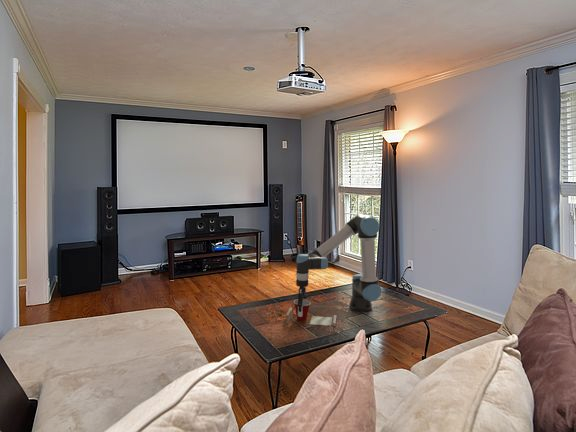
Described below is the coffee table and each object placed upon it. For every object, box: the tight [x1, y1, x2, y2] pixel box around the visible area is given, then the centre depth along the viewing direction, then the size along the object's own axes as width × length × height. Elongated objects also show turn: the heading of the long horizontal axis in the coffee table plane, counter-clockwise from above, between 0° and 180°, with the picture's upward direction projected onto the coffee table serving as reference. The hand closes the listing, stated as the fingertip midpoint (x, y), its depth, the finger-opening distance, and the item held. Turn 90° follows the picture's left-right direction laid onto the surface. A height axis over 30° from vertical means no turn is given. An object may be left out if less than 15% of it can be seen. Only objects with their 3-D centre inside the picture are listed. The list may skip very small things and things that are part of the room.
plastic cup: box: [293, 298, 312, 322], centre depth 237 cm, size 11×11×12 cm
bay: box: [285, 307, 337, 327], centre depth 236 cm, size 30×13×5 cm, turn 80°
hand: (301, 312), depth 237 cm, fingers open, 13 cm apart
